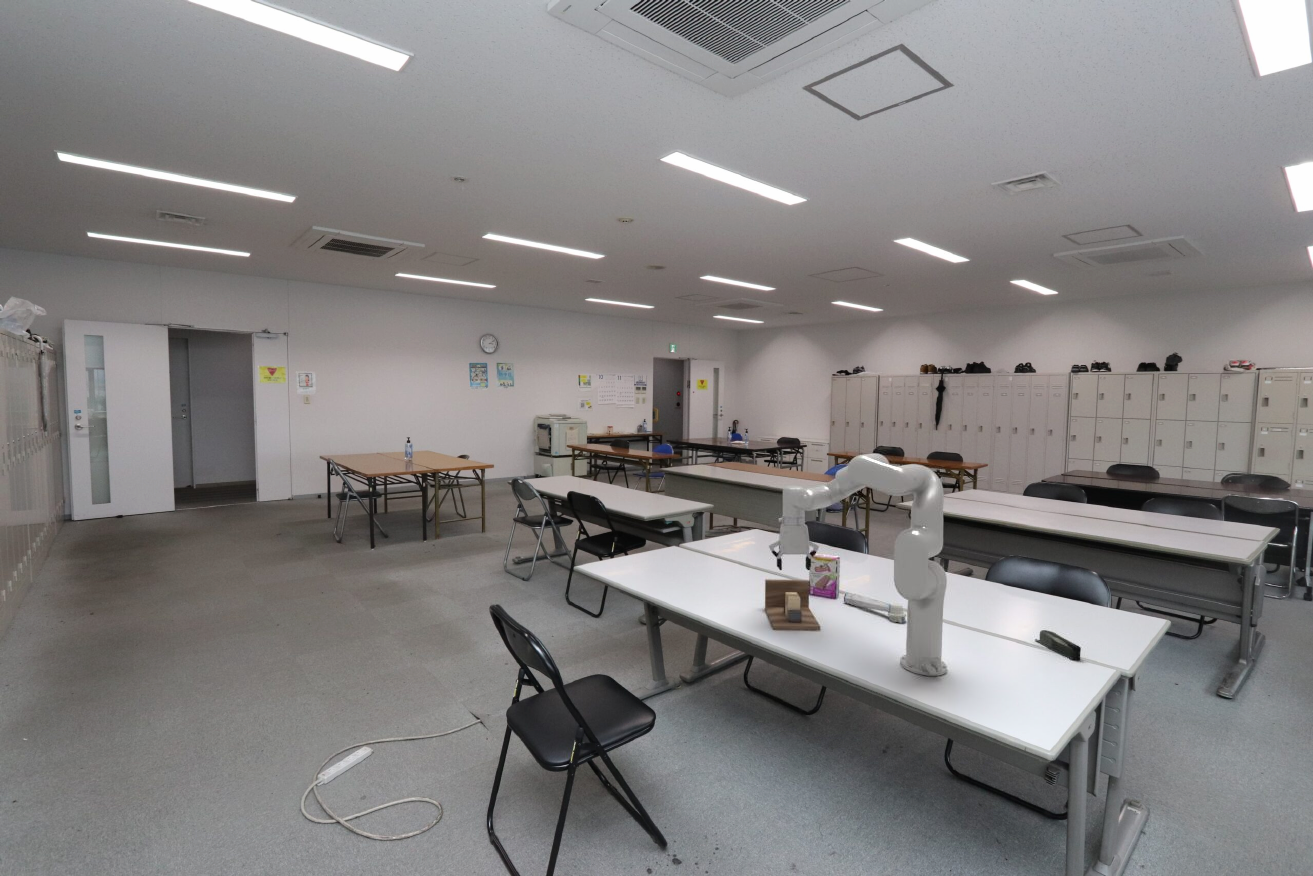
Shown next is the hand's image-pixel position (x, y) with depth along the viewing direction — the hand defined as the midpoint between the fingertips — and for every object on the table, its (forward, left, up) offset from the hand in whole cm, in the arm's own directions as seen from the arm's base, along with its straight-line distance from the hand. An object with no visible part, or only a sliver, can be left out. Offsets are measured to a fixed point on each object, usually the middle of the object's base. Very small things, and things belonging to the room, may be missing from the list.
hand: (793, 569), depth 206 cm
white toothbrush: (+10, -32, -20) cm, 39 cm away
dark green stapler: (-21, -78, -19) cm, 83 cm away
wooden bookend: (+2, 0, -19) cm, 19 cm away
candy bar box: (+28, -18, -19) cm, 39 cm away
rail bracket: (0, 0, -18) cm, 18 cm away
